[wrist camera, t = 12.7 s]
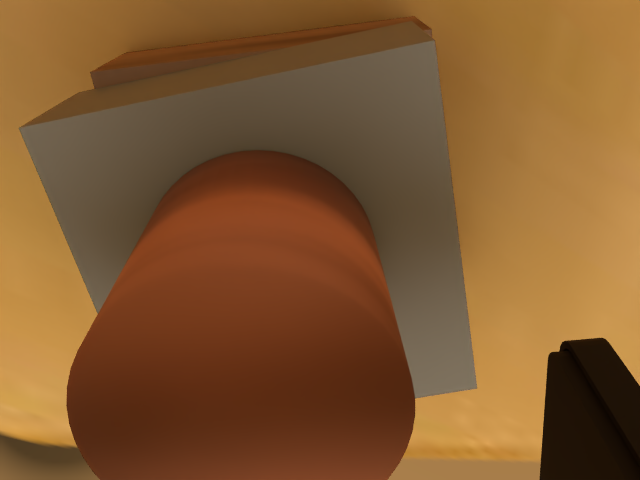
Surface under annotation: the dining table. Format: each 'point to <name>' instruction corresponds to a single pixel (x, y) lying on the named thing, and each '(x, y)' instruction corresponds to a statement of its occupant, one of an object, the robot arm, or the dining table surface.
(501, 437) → the dining table surface
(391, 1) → the dining table surface
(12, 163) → the dining table surface
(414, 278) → the tower top block
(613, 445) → the robot arm
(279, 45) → the tower bottom block
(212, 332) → the reddish pink cylinder
